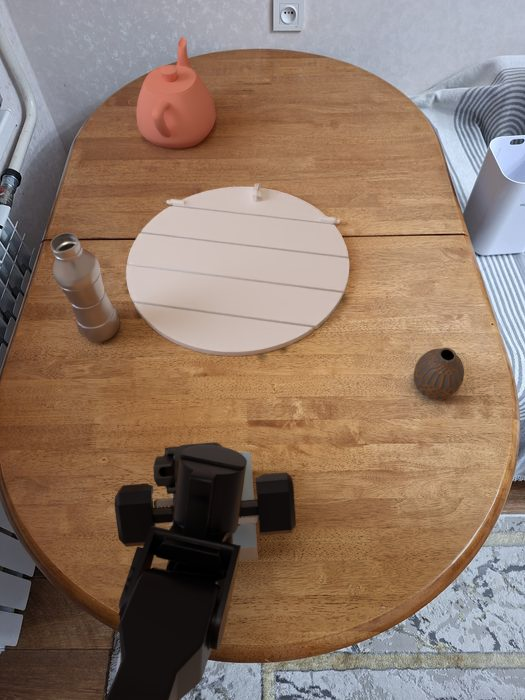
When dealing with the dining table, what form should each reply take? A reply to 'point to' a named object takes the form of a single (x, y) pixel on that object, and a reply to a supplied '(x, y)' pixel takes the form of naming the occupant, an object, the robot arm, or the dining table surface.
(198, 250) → the lazy susan
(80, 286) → the plastic bottle
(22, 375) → the dining table surface
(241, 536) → the cistern
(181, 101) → the teapot
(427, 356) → the vase
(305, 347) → the dining table surface
